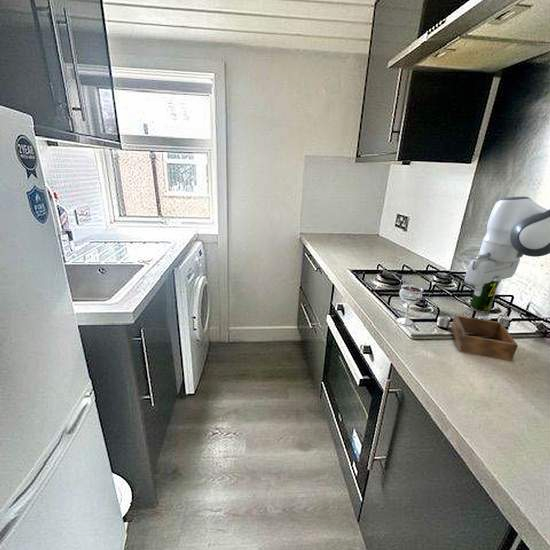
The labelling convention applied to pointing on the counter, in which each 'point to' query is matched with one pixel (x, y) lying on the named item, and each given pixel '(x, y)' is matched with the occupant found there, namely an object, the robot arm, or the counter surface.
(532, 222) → the robot arm
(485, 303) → the beer can
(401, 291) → the wineglass
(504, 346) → the brown wooden open box
